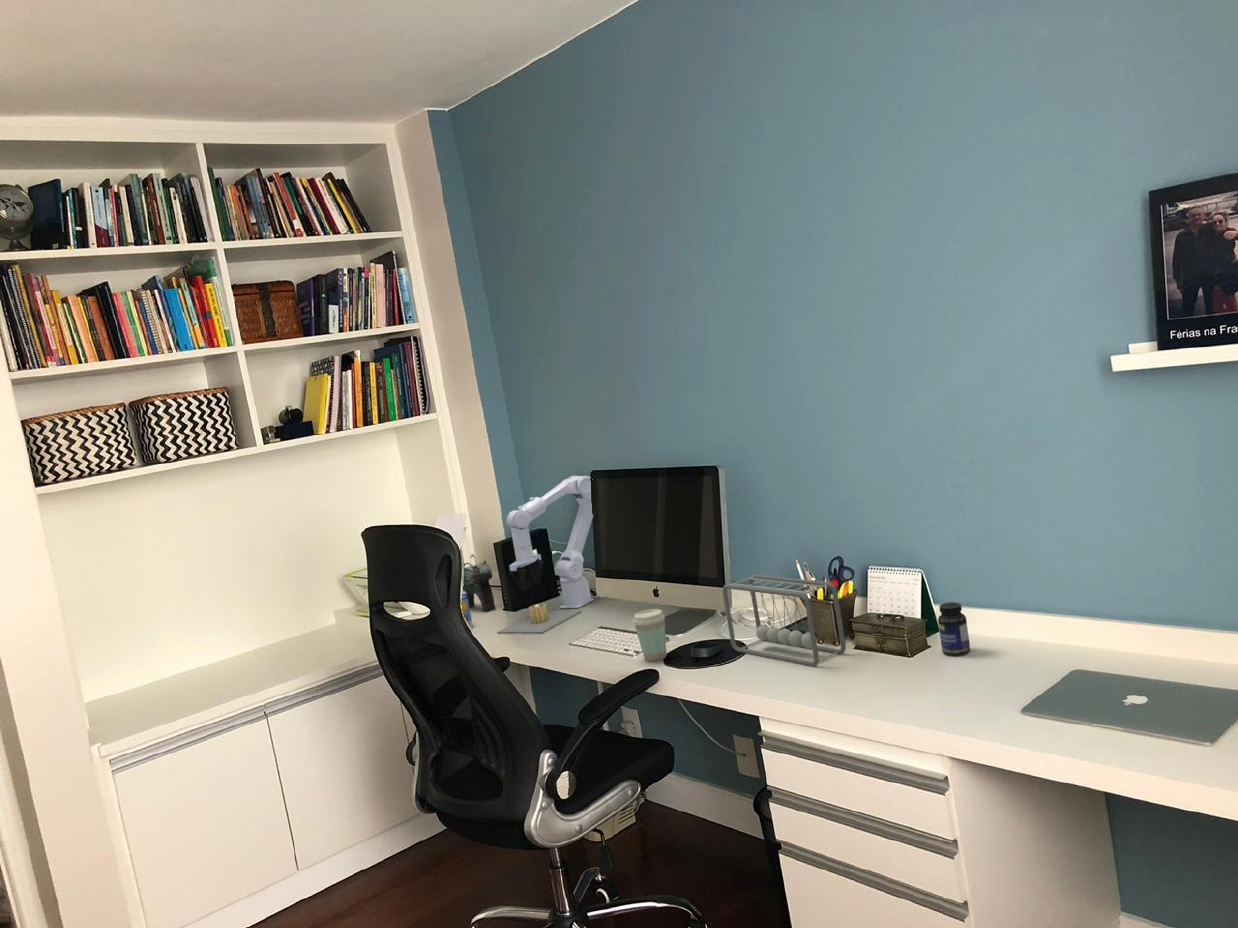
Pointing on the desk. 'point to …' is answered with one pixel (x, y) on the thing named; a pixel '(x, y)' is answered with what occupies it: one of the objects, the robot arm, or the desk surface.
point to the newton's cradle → (784, 635)
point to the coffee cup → (651, 633)
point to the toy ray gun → (479, 585)
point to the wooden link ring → (538, 614)
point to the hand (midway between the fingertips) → (529, 586)
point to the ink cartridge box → (466, 609)
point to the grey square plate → (540, 628)
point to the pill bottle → (953, 630)
